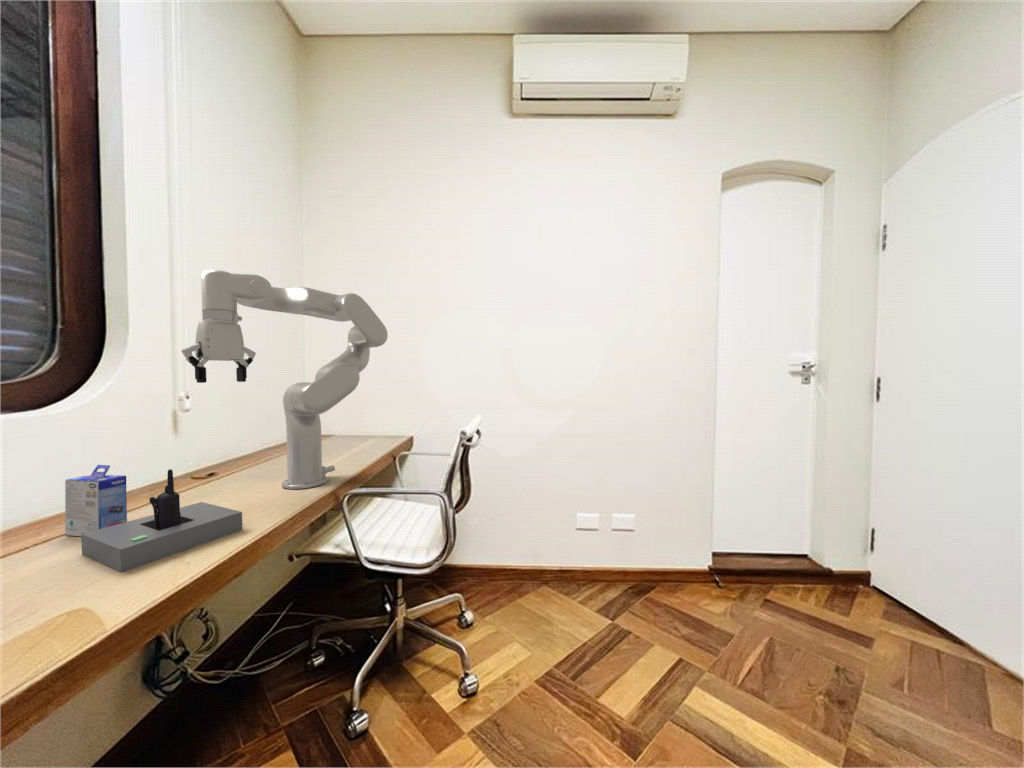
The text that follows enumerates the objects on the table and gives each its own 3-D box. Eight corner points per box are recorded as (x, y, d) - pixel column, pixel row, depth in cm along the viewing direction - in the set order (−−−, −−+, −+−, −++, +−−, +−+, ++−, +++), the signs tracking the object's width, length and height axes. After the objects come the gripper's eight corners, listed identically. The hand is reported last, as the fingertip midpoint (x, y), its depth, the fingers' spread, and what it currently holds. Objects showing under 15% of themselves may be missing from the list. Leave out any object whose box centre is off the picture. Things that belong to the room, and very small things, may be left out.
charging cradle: (202, 518, 92) (201, 500, 92) (242, 529, 85) (242, 510, 85) (81, 554, 74) (81, 532, 74) (121, 572, 67) (120, 547, 67)
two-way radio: (183, 541, 80) (180, 469, 79) (154, 549, 76) (151, 473, 76) (176, 534, 83) (174, 465, 83) (148, 542, 80) (145, 469, 79)
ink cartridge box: (130, 529, 87) (127, 464, 86) (99, 539, 81) (96, 470, 81) (96, 526, 89) (93, 463, 88) (64, 536, 83) (61, 468, 83)
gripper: (245, 322, 113) (247, 381, 114) (173, 315, 98) (175, 383, 98) (261, 321, 110) (263, 381, 110) (189, 312, 94) (192, 383, 95)
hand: (222, 382), depth 104 cm, fingers open, 9 cm apart
